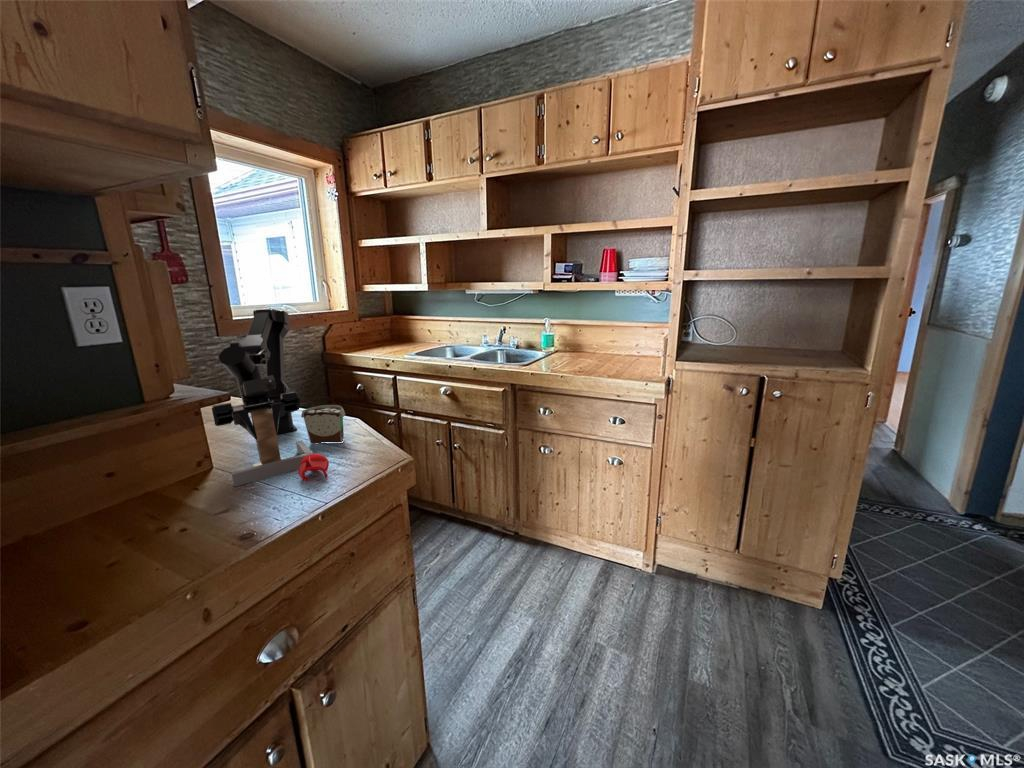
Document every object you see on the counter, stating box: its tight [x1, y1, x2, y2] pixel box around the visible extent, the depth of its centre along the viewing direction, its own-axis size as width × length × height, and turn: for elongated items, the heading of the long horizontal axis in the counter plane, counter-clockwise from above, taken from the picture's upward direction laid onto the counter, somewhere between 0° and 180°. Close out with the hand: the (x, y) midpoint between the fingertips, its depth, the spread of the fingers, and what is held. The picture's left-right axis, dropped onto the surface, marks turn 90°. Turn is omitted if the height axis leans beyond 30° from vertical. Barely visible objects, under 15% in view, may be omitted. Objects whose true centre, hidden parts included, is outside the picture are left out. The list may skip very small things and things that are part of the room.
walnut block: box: [249, 408, 282, 465], centre depth 102 cm, size 4×5×13 cm
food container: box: [301, 404, 346, 444], centre depth 119 cm, size 12×6×10 cm, turn 84°
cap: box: [297, 453, 330, 482], centre depth 96 cm, size 8×6×6 cm
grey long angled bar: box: [230, 440, 314, 488], centre depth 103 cm, size 12×17×3 cm
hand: (266, 436), depth 100 cm, fingers closed on walnut block, 4 cm apart
